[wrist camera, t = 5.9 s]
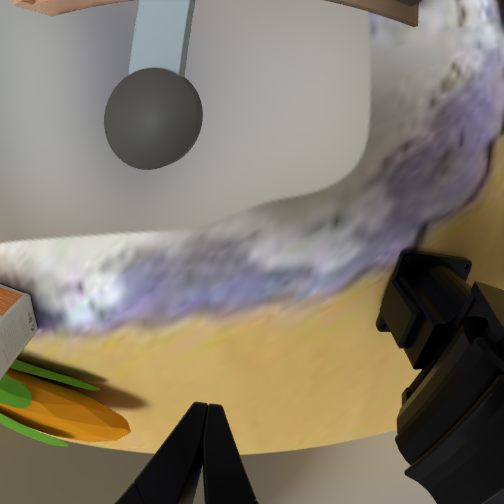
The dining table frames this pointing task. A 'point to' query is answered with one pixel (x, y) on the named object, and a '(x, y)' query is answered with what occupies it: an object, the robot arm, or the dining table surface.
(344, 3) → the seesaw base
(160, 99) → the lever
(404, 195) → the dining table surface
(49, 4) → the ceramic dish
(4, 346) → the skincare box
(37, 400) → the corn
